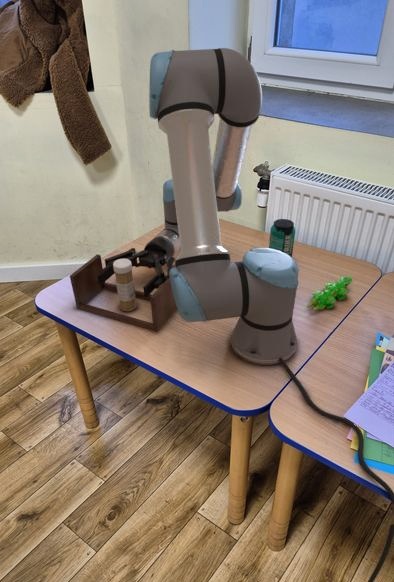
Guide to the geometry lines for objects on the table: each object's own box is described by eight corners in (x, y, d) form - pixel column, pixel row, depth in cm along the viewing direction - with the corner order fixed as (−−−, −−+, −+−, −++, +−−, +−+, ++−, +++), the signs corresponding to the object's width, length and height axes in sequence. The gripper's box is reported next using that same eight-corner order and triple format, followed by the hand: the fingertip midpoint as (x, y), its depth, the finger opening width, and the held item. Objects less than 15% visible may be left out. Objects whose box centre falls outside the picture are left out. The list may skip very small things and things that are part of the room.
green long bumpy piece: (358, 290, 127) (361, 277, 125) (319, 318, 118) (322, 304, 115) (337, 281, 131) (340, 268, 128) (298, 308, 122) (300, 294, 119)
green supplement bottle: (291, 255, 143) (296, 218, 135) (291, 267, 138) (296, 229, 130) (268, 254, 144) (271, 217, 136) (267, 265, 138) (270, 228, 131)
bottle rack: (157, 331, 115) (154, 298, 109) (76, 308, 123) (69, 275, 117) (179, 306, 123) (178, 273, 117) (102, 285, 131) (96, 254, 125)
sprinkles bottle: (130, 300, 126) (124, 255, 117) (140, 307, 123) (135, 262, 114) (116, 306, 124) (109, 261, 115) (125, 314, 121) (119, 269, 112)
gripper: (202, 269, 130) (166, 310, 116) (126, 251, 139) (83, 287, 124) (202, 245, 125) (164, 284, 111) (123, 228, 134) (78, 262, 119)
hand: (121, 286), depth 117 cm, fingers open, 13 cm apart
